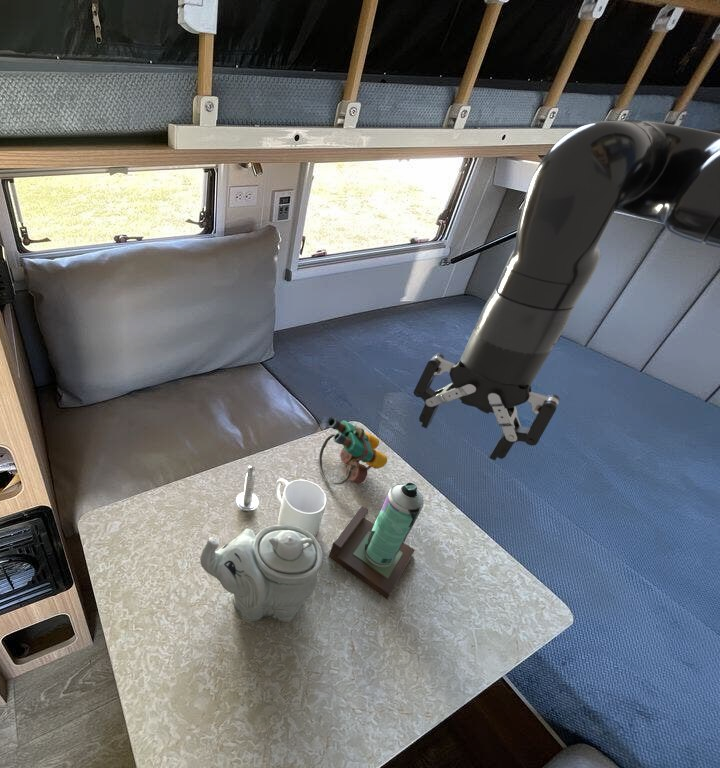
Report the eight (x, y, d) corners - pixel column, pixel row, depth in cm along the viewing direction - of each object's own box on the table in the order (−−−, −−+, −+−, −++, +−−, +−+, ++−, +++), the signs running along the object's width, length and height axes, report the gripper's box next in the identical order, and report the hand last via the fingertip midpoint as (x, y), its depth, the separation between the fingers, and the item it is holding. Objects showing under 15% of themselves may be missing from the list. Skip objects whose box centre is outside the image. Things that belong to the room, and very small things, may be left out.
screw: (231, 503, 89) (249, 494, 91) (243, 519, 86) (261, 510, 88) (235, 463, 81) (254, 454, 83) (248, 479, 78) (268, 470, 80)
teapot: (196, 597, 73) (197, 536, 61) (244, 539, 82) (253, 478, 71) (273, 665, 64) (291, 610, 53) (318, 592, 74) (340, 533, 63)
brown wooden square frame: (411, 555, 80) (420, 541, 77) (386, 600, 73) (395, 586, 70) (356, 519, 87) (361, 504, 84) (328, 557, 79) (333, 542, 77)
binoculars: (349, 503, 94) (399, 467, 86) (303, 482, 90) (352, 441, 82) (335, 459, 105) (378, 423, 98) (293, 437, 101) (335, 398, 93)
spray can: (399, 557, 77) (436, 490, 66) (381, 572, 75) (417, 505, 63) (375, 536, 81) (407, 468, 69) (357, 550, 78) (387, 482, 67)
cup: (296, 551, 80) (304, 521, 74) (258, 508, 88) (263, 478, 82) (325, 532, 84) (335, 501, 78) (286, 492, 92) (293, 462, 86)
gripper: (435, 323, 47) (395, 428, 56) (589, 372, 39) (511, 484, 48) (456, 304, 51) (415, 404, 60) (597, 344, 43) (525, 452, 53)
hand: (458, 440), depth 54 cm, fingers open, 8 cm apart
